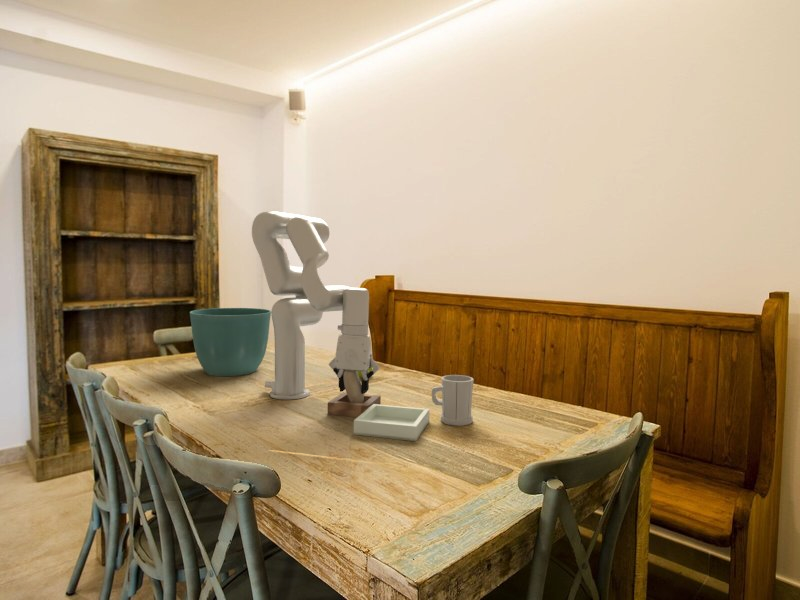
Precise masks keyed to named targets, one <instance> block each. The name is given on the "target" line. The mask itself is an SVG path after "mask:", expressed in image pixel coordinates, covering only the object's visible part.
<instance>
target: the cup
mask: <svg viewBox="0 0 800 600" xmlns="http://www.w3.org/2000/svg"><path fill="white" fill-rule="evenodd" d="M474 380H475V379H474V378H473V377H471V376H469V375H463V374H462V375H461V374H460V375H459V374H450V375H449V374H448V375H444V376H442V377H440V381H441V385H438V386H434V387H432V389H431V401H432V403H433V404H434V405H435V406H441V408H442V410H441V414H440V421H441V423H442V424H446V425H447V426H456V427H462V426H463V427H464V426H468V425H470V424H472V423H473V421H474V417H473V415H472V405H473V404H472V403H473V400H472V399H473V389H474V382H475V381H474ZM438 392H441V399H442V400H440V399H438V397H437V395H436V394H437V393H438Z"/></svg>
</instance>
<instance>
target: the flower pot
mask: <svg viewBox="0 0 800 600" xmlns="http://www.w3.org/2000/svg"><path fill="white" fill-rule="evenodd" d="M271 311H272V310H270V309H266V308H265V309H264V308H251V307H250V308H249V307H219V308H218V307H217V308H202V309H195V310H191V311H189V318H190V324H191V325H190V326H191V334H192V340H193V341H192V342H193V346H194V351H195V355H196V358H197V359H198V362H199V364H200V366H201V368H202V369H203V370H204V371H205V373H206V374H207V375H210V376H213V377H214V376H217V377H237V375H238V376H244V374H245V375H248V374H253V373H255V372H256V371H257V370H258V369H259V367H260V365H261V364H262V362H263V361H264V358H265V355H266V352H267V347H268V342H269V341H268V340H269V334H270V333H269V332H270V323H271V317H272V314H271ZM254 371H255V372H254ZM252 372H253V373H252Z"/></svg>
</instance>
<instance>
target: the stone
mask: <svg viewBox="0 0 800 600" xmlns="http://www.w3.org/2000/svg"><path fill="white" fill-rule="evenodd" d="M343 379H344V386H345V393H347V395H348V398H349V400H350V402H353V403H363V401H364V394H362V393H361V387H362V381H361V378H359V376H358V373H357V371H352V370H345V371H344V377H343Z"/></svg>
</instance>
